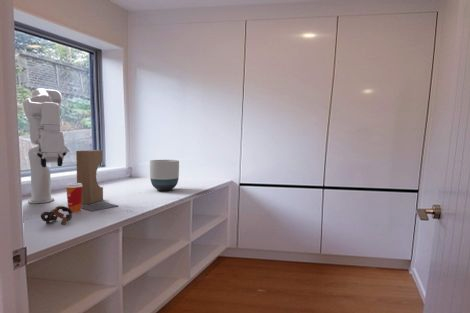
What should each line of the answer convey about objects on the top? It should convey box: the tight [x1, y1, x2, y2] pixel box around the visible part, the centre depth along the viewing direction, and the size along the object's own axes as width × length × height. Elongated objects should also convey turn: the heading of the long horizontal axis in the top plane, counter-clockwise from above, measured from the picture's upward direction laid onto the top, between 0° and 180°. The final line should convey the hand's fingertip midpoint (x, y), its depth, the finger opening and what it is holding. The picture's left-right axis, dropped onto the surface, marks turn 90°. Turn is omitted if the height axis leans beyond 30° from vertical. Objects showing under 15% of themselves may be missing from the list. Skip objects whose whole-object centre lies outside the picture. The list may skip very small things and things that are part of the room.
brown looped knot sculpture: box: [40, 205, 73, 225], centre depth 130 cm, size 12×10×8 cm
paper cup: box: [65, 182, 83, 213], centre depth 152 cm, size 8×8×14 cm
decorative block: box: [75, 149, 104, 206], centre depth 173 cm, size 15×8×30 cm, turn 176°
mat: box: [81, 201, 119, 212], centre depth 162 cm, size 14×15×1 cm
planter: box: [149, 159, 180, 192], centre depth 215 cm, size 20×20×21 cm
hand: (52, 166), depth 143 cm, fingers open, 6 cm apart
